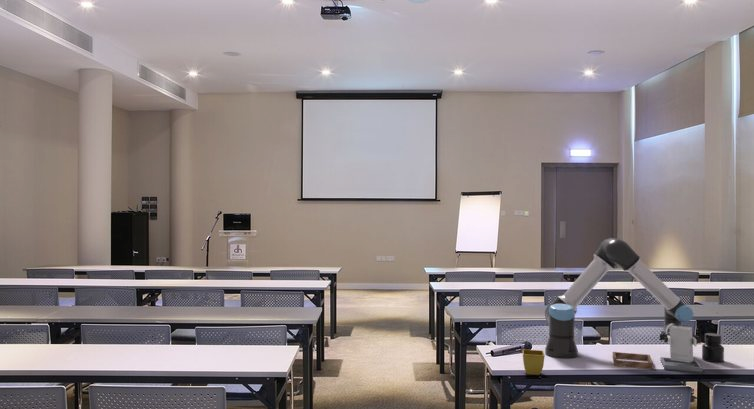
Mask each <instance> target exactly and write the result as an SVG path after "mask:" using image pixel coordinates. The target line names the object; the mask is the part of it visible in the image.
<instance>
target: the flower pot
mask: <svg viewBox="0 0 754 409" xmlns="http://www.w3.org/2000/svg"><path fill="white" fill-rule="evenodd" d="M521 352H522V360H523V368H524V370H525V373H526V374H527V375H532V376H533V375H536V376H539V375H540V376H541V373H542V372H543V370H544V369H543V368H544V363H545V355H546V354H545V351H544V350H542V349H541V350H538V349H522V351H521Z"/></svg>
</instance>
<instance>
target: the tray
mask: <svg viewBox="0 0 754 409" xmlns="http://www.w3.org/2000/svg"><path fill="white" fill-rule="evenodd" d="M659 359H660V360H659V361H661V362H660V363H662V364H661V366H662V365H663V366H662V368H663V367H664V368H663V370H666V371H667V370H668V371H676V372H677V371H678V372H689V373H699V374H700V373H701V374H704V367H702V365H701V364H700V362H699V361H698V359H693V361H692V362H690V363H688V362H681V361H674V360H671V357H664V356H663V357H662V356H661V357H660V358H659Z"/></svg>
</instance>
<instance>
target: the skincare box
mask: <svg viewBox="0 0 754 409" xmlns="http://www.w3.org/2000/svg"><path fill="white" fill-rule="evenodd" d="M692 333H693V327H692V326H682V325H681V326H672V327H670V338H671V344H669V347H670V348H669V352H670V358H671V360H674V361H681V362H688V363H690V362H692V361H693V360H694V345H693V340H692Z"/></svg>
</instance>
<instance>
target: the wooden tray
mask: <svg viewBox="0 0 754 409" xmlns="http://www.w3.org/2000/svg"><path fill="white" fill-rule="evenodd" d="M623 358H627V359H628V360H627V359H623ZM635 360H637V361H635ZM612 361H613V366H614V367H623V366H626V367H625V368H638V369H648V370H654V362H653V359H652V357H651V355H650V354H644V353H634V352H633V353H632V352H630V353H629V352H622V351H621V352H620V351H619V352H618V351H612Z"/></svg>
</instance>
